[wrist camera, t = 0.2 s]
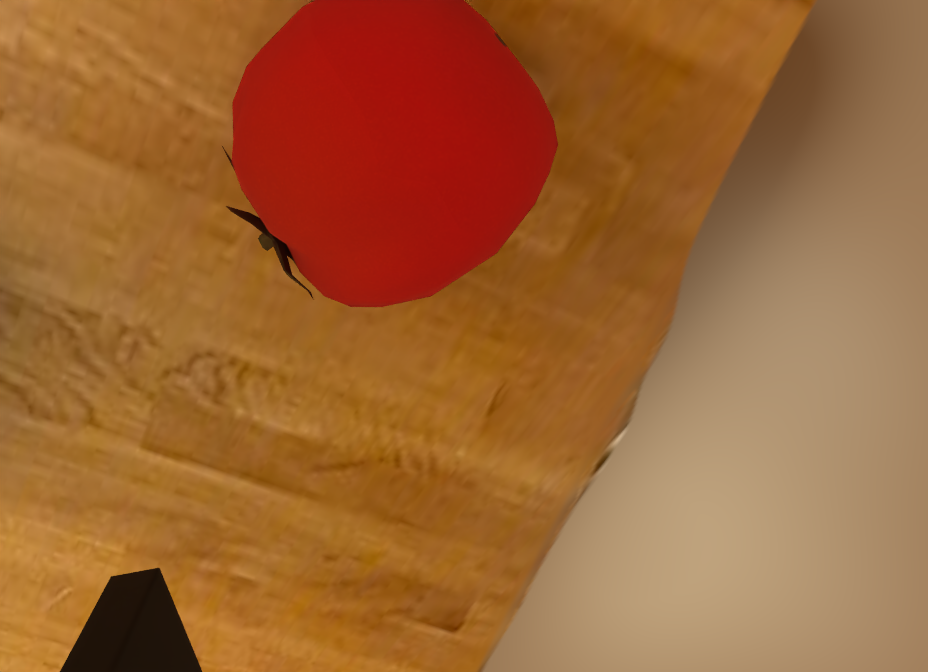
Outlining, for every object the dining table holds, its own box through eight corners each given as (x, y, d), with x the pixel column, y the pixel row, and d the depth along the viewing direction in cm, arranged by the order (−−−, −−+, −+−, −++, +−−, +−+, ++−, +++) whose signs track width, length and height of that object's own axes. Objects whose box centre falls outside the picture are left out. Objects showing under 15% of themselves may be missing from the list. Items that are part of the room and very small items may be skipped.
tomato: (482, 16, 38) (271, 165, 40) (392, -172, 26) (97, 58, 28) (616, 224, 35) (381, 371, 37) (586, 124, 23) (241, 351, 25)
